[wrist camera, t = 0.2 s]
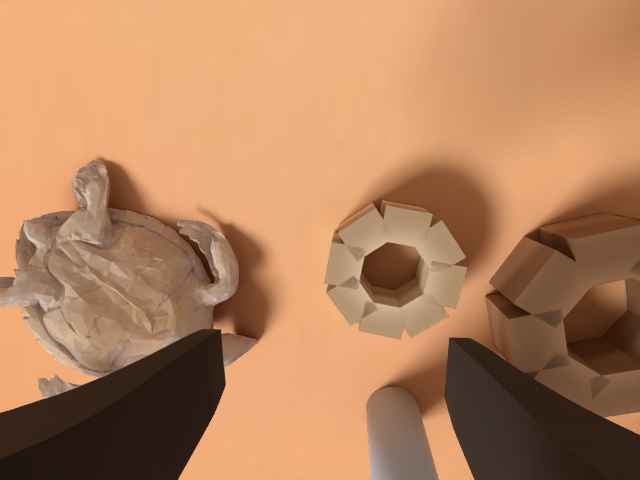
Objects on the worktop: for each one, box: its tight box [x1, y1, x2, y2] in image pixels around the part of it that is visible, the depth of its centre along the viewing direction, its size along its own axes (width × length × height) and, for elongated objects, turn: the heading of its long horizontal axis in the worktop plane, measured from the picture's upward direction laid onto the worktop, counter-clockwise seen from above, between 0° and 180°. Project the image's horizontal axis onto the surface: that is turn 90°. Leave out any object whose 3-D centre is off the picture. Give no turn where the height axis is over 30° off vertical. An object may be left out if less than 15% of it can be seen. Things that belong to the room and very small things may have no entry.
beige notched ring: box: [324, 200, 467, 339], centre depth 18 cm, size 7×7×2 cm
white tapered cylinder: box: [366, 387, 439, 480], centre depth 18 cm, size 3×3×9 cm
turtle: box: [0, 160, 257, 398], centre depth 18 cm, size 16×10×10 cm, turn 79°
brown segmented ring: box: [485, 213, 640, 417], centre depth 18 cm, size 10×10×3 cm
